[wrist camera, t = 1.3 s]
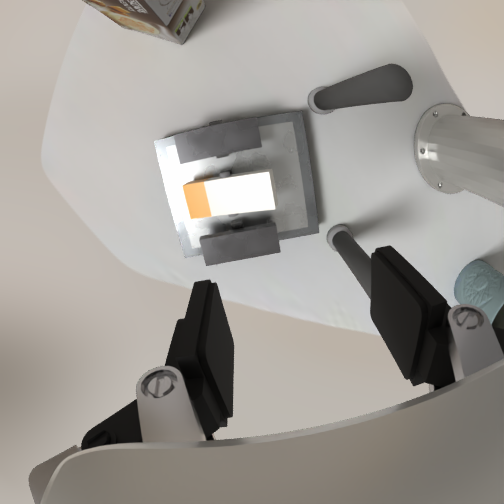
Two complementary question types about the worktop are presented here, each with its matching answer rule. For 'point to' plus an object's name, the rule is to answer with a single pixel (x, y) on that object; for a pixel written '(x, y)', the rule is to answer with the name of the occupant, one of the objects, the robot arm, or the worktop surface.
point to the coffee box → (153, 16)
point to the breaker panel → (237, 161)
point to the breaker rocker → (231, 194)
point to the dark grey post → (363, 90)
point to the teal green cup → (482, 290)
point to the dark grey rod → (351, 255)
